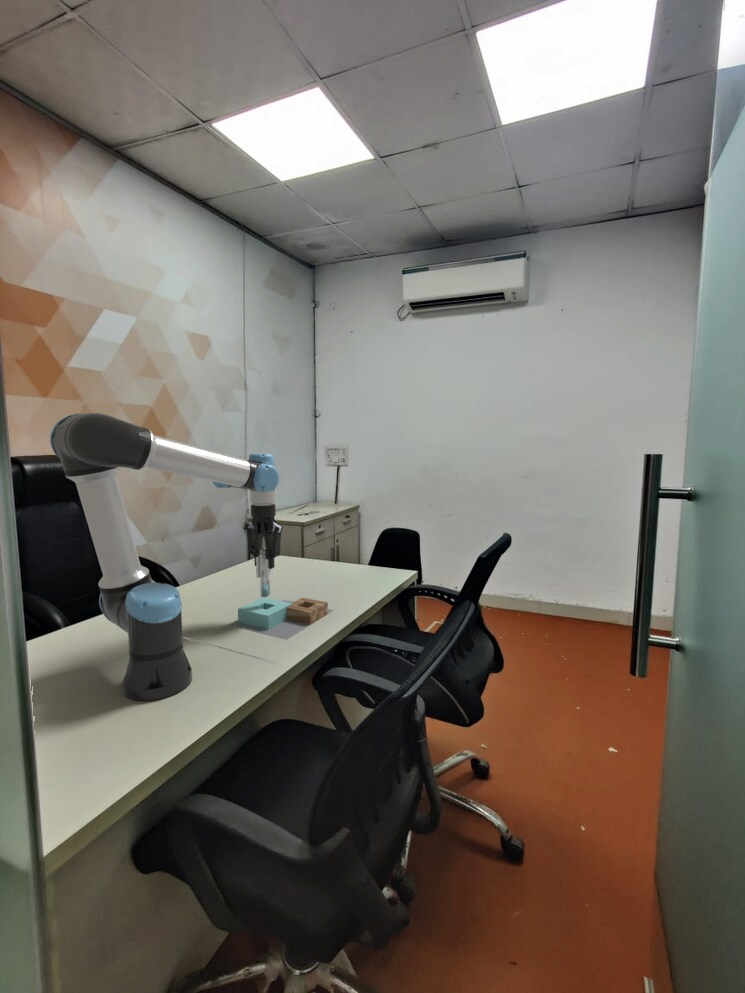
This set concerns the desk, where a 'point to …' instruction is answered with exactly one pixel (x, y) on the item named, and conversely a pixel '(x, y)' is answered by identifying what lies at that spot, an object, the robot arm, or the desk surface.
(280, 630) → the mat
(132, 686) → the robot arm
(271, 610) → the socket
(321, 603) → the block
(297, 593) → the desk surface
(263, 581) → the pin
